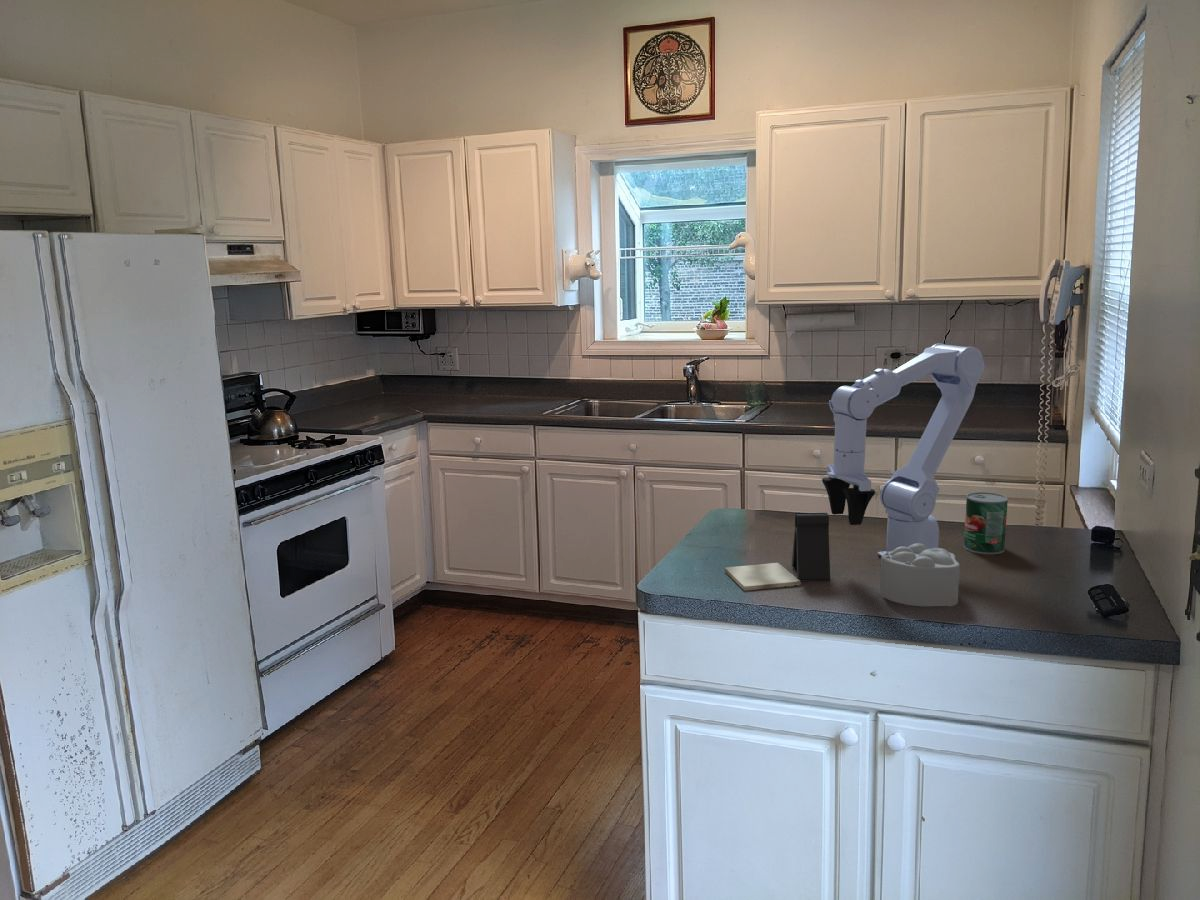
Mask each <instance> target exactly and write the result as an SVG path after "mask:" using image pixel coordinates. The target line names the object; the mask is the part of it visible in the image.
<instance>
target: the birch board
mask: <svg viewBox="0 0 1200 900" xmlns="http://www.w3.org/2000/svg"><path fill="white" fill-rule="evenodd" d="M724 572H725V574H726V575H728V576H729V577H730V578H731V579H732V581H734V582H735V583H736V584H737V585H738V586H739V587H740V588H741V589H742V590H743V591H745V592H746V591H755V590H764V589H766V588H767V589H775V587H777V588H785V587H784V586H787V587H795V586H794V585H797V586H801V581H800V580H798V579H797V577H796V575H794V574H792V573H791V572H790V571H788V569H786V568H785V567H784V566H783V565H781V564H780V563H779V562H770V563H760V564H750V565H749V564H748V565H740V566H738V565H736V566H727V567H724Z"/></svg>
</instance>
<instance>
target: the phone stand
mask: <svg viewBox="0 0 1200 900" xmlns="http://www.w3.org/2000/svg"><path fill="white" fill-rule="evenodd" d="M829 527H830V515H829V514H828V512H795V514H794V534H793V543H792V544H793V545H792V557H791V568H792V567H793V568H792V570H793V569H794V570H793V573H794V574H796V575H795V577H796V576H797V577H796V578H798V580H800V582H803V581H804V582H814V581H815V582H820V581H821V582H823V581H824V582H828V581H829V582H830V581H831V563H830V561H831V559H830V531H829V530H830V529H829Z"/></svg>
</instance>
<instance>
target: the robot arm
mask: <svg viewBox="0 0 1200 900" xmlns="http://www.w3.org/2000/svg"><path fill="white" fill-rule="evenodd" d="M985 369H986V366H985V361H984V358H983V354H982V352H981V350H980V349H979V348H977V347H975V346H959V345H952V344H951V345H950V344H945V343H940V342H939V343H938V342H937V343H934V344H933V345H932V346H930V347H926V348H925V349H924V350H923V352H922V353H920V354H918V355H917V356H915V357H913V358H911V360H909V361H907V362H906V363H904V364H902V365H901V366H900V365H899V367H897V368H894V369H893V370H891V369H889V368H879V367H878V368H876V369H875V370H873V373H872V374H871V375H869V376H867V377H865V378H863V379H857V380H855V381H854V384H852V385H851V386H850V385H842V386H840V387H838V388H837V389H836V390H835V391H834V392H833V393H832V395H831V400H829V401H828V405H829V408H830V411H831V412H832V414H833V421H834V423H835V424H834V440H833V441H834V443H833V463H832V464H827V465H826V475H827V476H826V477H823V478H821V481H822V484H823V485H824V488H825V490H826V493H827V497H828V500H829V507H830V510H831V515H834V516H835V515H843V514H844V512H845V508H846V504H847V512H848V513H847V515H848V523H849V525H850V526H860V525H862V523H863V520H864V517H865V514H866V510H867V507H868V506H869V503H870V502H871V500H872V499H873V497H874V496H875V494H876V490H875V489H874V488H872V480H871V479H869V477H868V475H866V473H865V457H866V440H867V421H868V420H867V419H868V418H869V417H871V415H872V414H873V412H874V410H875V409H876V407H879V406H880V405H882V404H884V403H886V402H888V401H890V400H891V399H894V398H895V397H897V396H899V394H900V392H901V390H902V387H904V386H906V385H908V384H910V383H913V382H916V381H917V380H919V379H922V378H924V377H926V376H928V375H930V377H931V378H932V379H933V381H934V383H935V384H936V387H937V388H939V389H940V393H941V397H940V399H939V401H938V403H937V406H936V407H935V410H934V411H933V412H932V415H931V417H930V419H929V421H928V423H927V425H926V428H925V429H924V430H923V434H922V435H921V436H920V439H919V441H918V443H917V445H916V447H915V449H914V451H913V453H912V456H911V457H910V458H909V460H908V463H907V464H905V466H902V467H901V468H898V469H897V470H896V469H895V471H894V472H893V474H892V476H891V477H890V479H888V480H887V481H886V482H885V483H884V484H883V485H882V488H881V490H880V494H879V499H880V503H881V505H882V506H883V507H884V508H885V514H887V524H886V526H887V527H886V550H885V551H877V555H878V556H880V557H881V556H882V555H883V554H885V553H887V552H890V551H893V550H894V549H896V548H897V547H901V546H903V547H909V546H910V545H912V544H916V543H920V544H924V545H925V546H926V547H927V548H928V549H932V548H939V540H940V538H939V537H940V528H939V527H940V526H939V523H938V520H937V519H936V518H935V517H934V516H933V515H932V513H933V512H934V510H935V506H936V502H937V501H936V500H937V496H938V494H939V492H940V487H939V484H938V483H937V481H936V479H935V476H936V473H937V472H938V470H939V467H940V466H941V463H942V461H943V459H944V457H945V456H946V454H947V451H948V450H949V448H950V445H951V444H952V441H953V440H954V437H955V436H956V434H957V431H958V430H959V428H960V427H961V423H962V422H963V420H964V417H965V416H966V414H967V412H968V410H969V408H970V406H971V404H972V402H973V400H974V396H975V392H976V387H977V385H978V383H979V381H980V379H981V377H982V375H983V373H984V371H985ZM850 486H852V487H850Z"/></svg>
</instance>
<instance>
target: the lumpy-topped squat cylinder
mask: <svg viewBox="0 0 1200 900" xmlns="http://www.w3.org/2000/svg"><path fill="white" fill-rule="evenodd" d="M960 568H961V566H960V563H959V561H957V560H956V555H955V554H954V553H952V552H951V551H950V552H949V551H948V550H946V549H945V548H941V547H938V548H932V549H928V548H927V547H926V546H925V545H924V544H920V543H916V544H912V545H910V546H909V547H903V546H901V547H897V548H896V549H894V550H893V551H890V552H887V553H885V554H883V555H882V556H880V573H879V595H880V597H882V598H883V599H886V600H888V601H891V602H894V603H898V604H902V605H907V606H915V607H929V606H930V608H932V607H931V606H933V607H934V606H948V607H953V606H952V605H954V606H956V605H957V604H958V602H959V589H960V588H959V587H960ZM955 604H956V605H955ZM934 608H935V607H934Z"/></svg>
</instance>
